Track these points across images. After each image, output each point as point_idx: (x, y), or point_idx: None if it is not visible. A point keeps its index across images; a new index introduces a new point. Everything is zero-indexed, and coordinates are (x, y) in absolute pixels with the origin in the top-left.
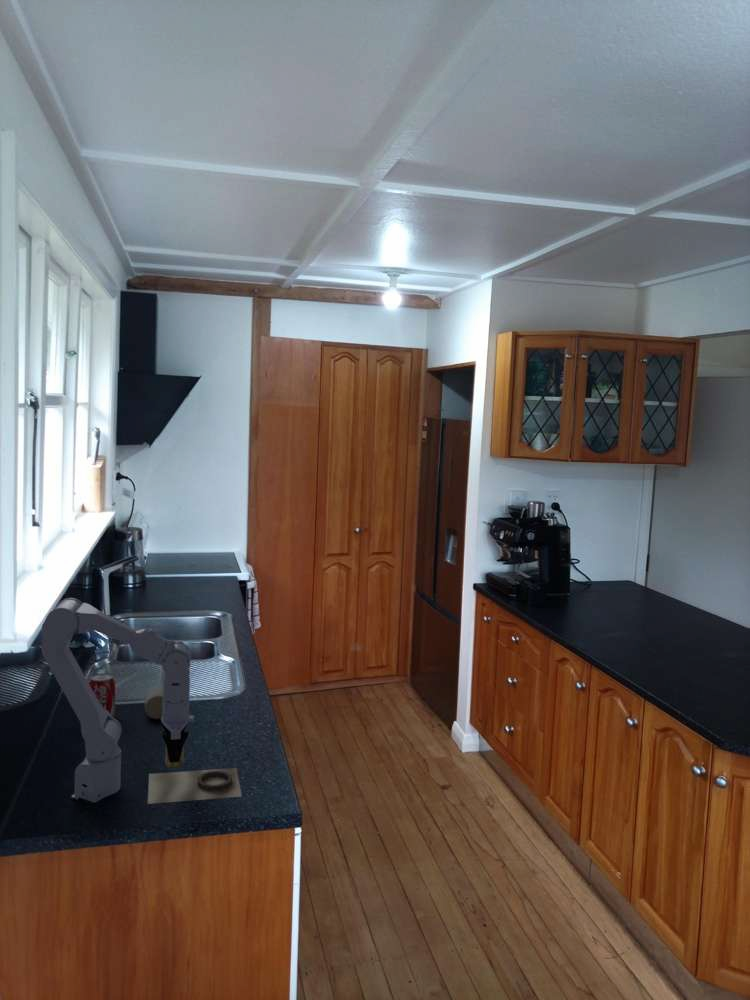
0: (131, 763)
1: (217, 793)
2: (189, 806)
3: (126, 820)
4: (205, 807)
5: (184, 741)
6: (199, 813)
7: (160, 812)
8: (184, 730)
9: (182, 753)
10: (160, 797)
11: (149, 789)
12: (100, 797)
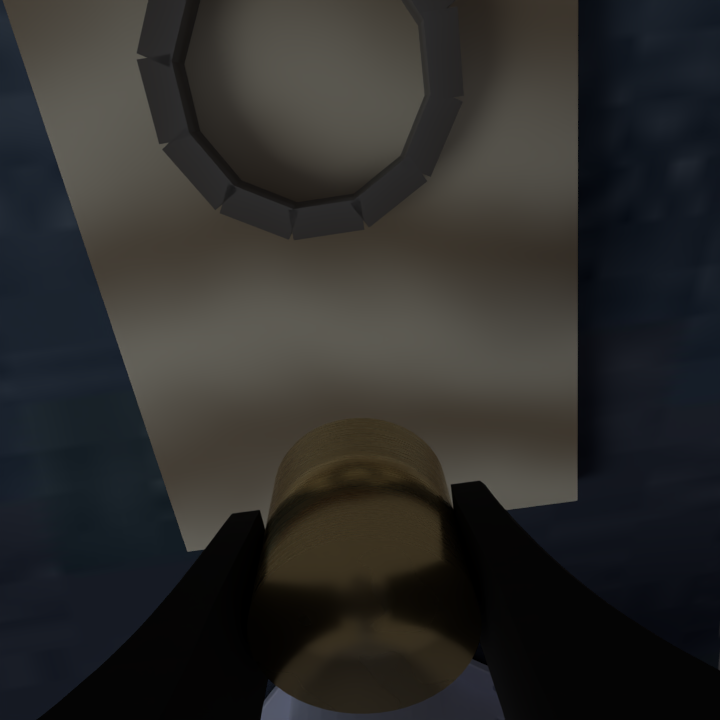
0: (22, 640)
1: (491, 35)
2: (584, 246)
3: (678, 554)
4: (620, 126)
5: (700, 664)
6: (699, 163)
7: (628, 411)
8: (164, 711)
9: (409, 498)
10: (505, 445)
11: None
12: (494, 712)
